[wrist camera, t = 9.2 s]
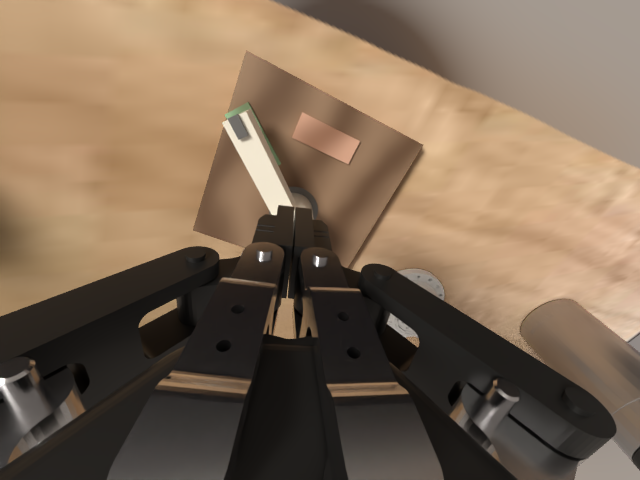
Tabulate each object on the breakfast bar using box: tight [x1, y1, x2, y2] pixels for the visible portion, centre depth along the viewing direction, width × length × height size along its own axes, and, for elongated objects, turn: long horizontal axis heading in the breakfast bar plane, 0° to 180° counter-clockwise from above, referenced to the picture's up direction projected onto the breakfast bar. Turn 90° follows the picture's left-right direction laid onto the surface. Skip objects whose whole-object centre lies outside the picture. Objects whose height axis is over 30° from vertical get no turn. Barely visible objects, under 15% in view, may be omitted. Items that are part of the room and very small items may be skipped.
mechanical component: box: [387, 269, 444, 338], centre depth 38 cm, size 10×4×10 cm
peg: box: [222, 109, 313, 218], centre depth 26 cm, size 4×13×6 cm, turn 22°
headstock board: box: [193, 50, 423, 268], centre depth 30 cm, size 18×18×2 cm
